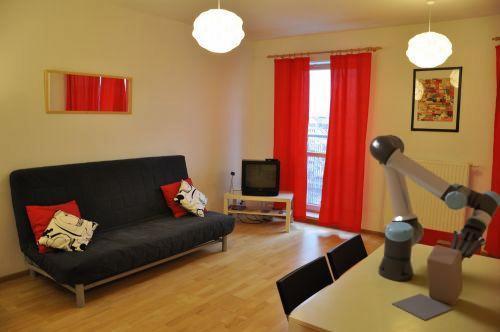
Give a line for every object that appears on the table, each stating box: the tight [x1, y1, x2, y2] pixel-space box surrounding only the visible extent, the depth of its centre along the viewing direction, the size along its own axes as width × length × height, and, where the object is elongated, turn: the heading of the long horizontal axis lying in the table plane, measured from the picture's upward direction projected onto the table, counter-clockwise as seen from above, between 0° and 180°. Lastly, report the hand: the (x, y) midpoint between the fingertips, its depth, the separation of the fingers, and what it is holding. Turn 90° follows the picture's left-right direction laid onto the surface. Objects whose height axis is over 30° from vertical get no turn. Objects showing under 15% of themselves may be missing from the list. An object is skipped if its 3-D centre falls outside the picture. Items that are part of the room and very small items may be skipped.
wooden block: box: [426, 244, 463, 306], centre depth 157 cm, size 10×10×20 cm
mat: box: [391, 293, 454, 322], centre depth 154 cm, size 18×14×1 cm
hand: (451, 268), depth 161 cm, fingers closed
